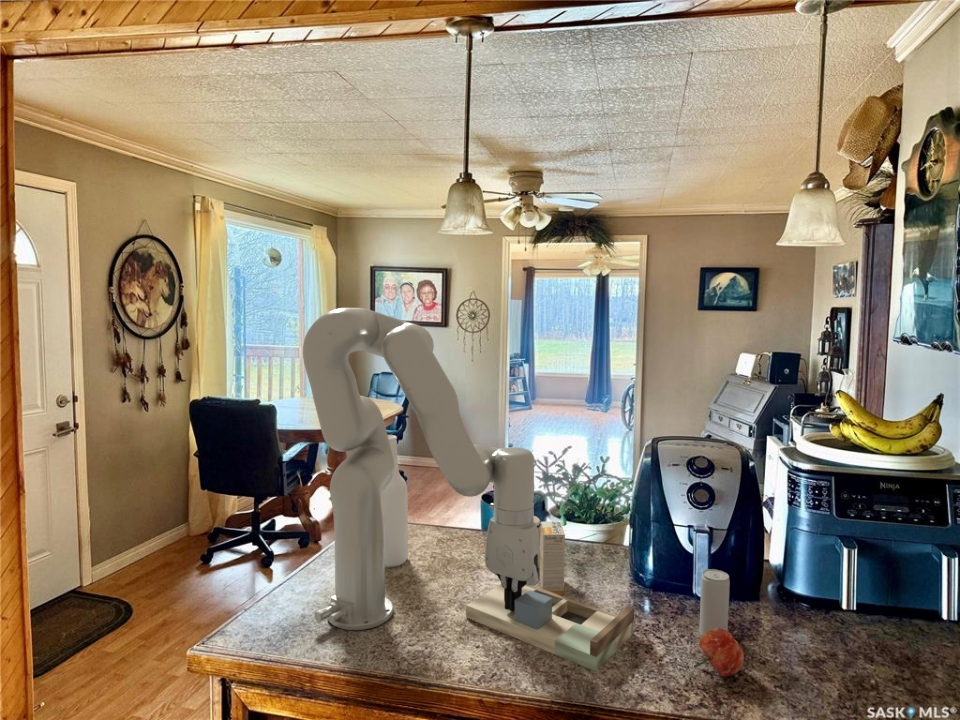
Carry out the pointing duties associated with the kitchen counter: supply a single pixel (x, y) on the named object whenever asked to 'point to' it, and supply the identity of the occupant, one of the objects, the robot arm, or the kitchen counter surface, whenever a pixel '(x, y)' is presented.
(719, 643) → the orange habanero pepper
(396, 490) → the alcohol
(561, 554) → the supplement box
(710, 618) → the beverage can
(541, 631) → the board
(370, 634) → the kitchen counter surface
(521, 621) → the slate block
